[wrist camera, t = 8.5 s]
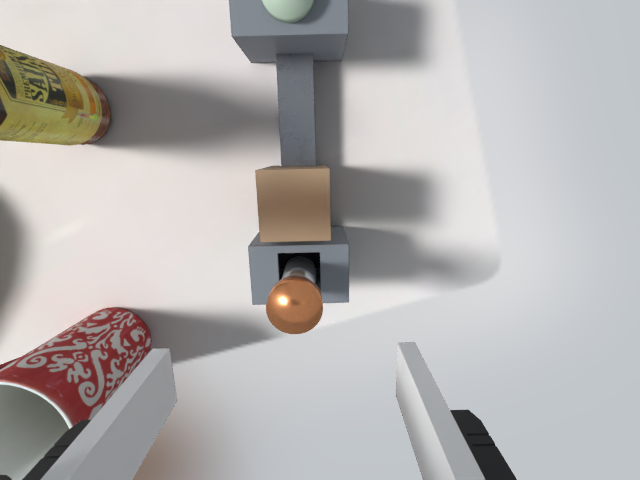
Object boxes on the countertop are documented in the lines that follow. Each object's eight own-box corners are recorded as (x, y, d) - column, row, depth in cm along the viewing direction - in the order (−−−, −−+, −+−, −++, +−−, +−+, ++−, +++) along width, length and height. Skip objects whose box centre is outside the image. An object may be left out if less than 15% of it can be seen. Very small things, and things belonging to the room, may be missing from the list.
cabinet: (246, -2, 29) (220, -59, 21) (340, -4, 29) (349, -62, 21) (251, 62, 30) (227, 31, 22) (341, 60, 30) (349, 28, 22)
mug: (158, 300, 36) (66, 384, 23) (163, 375, 38) (82, 491, 25) (36, 294, 36) (-128, 376, 22) (49, 370, 38) (-94, 485, 25)
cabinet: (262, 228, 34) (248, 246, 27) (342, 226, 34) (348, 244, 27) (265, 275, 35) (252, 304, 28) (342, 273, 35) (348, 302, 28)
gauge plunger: (277, 250, 28) (264, 282, 21) (321, 250, 28) (322, 281, 21) (279, 291, 29) (267, 334, 22) (322, 290, 29) (323, 333, 22)
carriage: (272, 165, 31) (255, 170, 23) (326, 164, 31) (329, 168, 23) (275, 219, 33) (260, 242, 24) (327, 217, 33) (330, 240, 24)
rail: (279, 62, 30) (275, 54, 28) (313, 61, 30) (312, 53, 28) (287, 227, 34) (284, 233, 31) (317, 226, 34) (317, 232, 31)
